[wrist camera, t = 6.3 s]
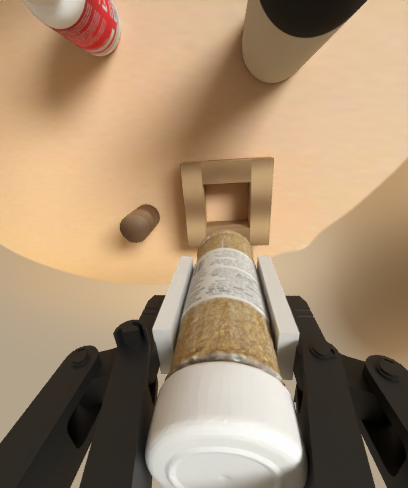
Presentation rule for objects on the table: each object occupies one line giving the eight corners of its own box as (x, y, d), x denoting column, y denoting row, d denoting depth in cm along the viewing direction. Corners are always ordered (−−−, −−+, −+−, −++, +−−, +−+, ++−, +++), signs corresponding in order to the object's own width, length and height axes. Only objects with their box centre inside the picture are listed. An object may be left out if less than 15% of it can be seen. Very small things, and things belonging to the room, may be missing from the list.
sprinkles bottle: (228, 286, 19) (233, 529, 7) (186, 256, 18) (111, 475, 6) (265, 250, 18) (355, 490, 5) (220, 215, 17) (207, 408, 5)
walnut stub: (133, 204, 36) (116, 216, 30) (157, 203, 35) (145, 215, 30) (138, 228, 37) (123, 242, 32) (161, 227, 37) (150, 242, 31)
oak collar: (184, 162, 32) (180, 164, 29) (269, 156, 31) (274, 158, 28) (191, 237, 37) (188, 246, 34) (264, 235, 36) (268, 245, 32)
